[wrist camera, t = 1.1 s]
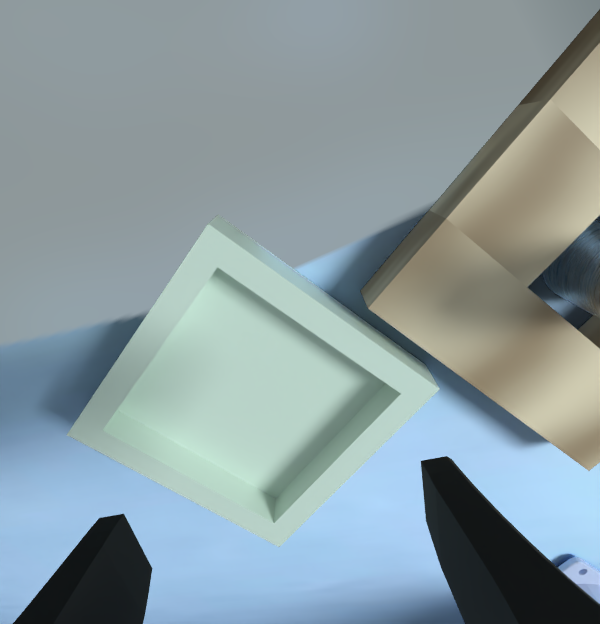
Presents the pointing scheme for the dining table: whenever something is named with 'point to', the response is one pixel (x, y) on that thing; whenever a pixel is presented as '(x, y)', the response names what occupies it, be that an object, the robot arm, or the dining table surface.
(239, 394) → the sage tray
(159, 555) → the dining table surface
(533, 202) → the hitch block
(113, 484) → the dining table surface
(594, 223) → the steel pin
